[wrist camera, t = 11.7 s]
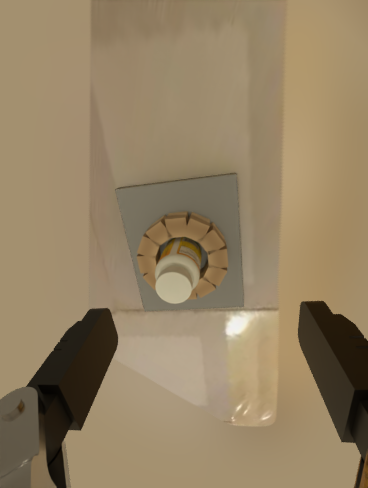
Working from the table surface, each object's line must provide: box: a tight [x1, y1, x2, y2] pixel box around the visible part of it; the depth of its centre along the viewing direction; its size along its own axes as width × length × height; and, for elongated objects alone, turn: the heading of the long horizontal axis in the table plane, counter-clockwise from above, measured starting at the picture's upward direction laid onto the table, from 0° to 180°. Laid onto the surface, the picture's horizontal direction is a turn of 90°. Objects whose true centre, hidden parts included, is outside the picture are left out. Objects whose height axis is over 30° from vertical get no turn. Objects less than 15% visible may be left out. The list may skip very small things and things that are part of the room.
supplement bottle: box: [155, 237, 202, 304], centre depth 30 cm, size 5×5×10 cm
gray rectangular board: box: [115, 173, 244, 311], centre depth 35 cm, size 20×16×2 cm
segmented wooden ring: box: [137, 211, 228, 300], centre depth 33 cm, size 12×12×3 cm
